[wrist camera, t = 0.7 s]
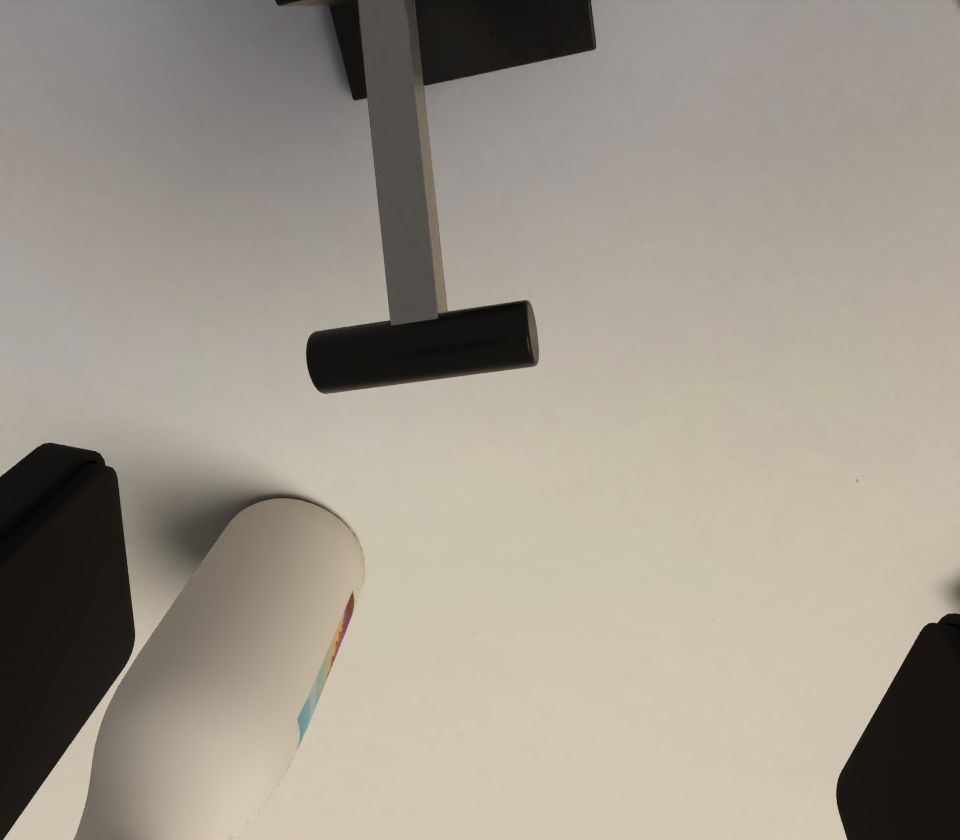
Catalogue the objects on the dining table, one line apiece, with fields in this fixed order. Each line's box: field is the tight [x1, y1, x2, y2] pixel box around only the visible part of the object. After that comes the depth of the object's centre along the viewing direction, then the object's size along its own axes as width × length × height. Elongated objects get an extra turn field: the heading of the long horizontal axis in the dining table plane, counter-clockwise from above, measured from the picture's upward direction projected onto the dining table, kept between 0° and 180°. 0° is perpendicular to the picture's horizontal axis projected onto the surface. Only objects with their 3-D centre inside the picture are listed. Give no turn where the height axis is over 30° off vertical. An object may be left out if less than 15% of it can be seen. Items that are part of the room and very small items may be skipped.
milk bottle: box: [74, 498, 365, 840], centre depth 32 cm, size 8×8×20 cm
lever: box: [306, 0, 539, 394], centre depth 17 cm, size 13×5×2 cm, turn 11°
